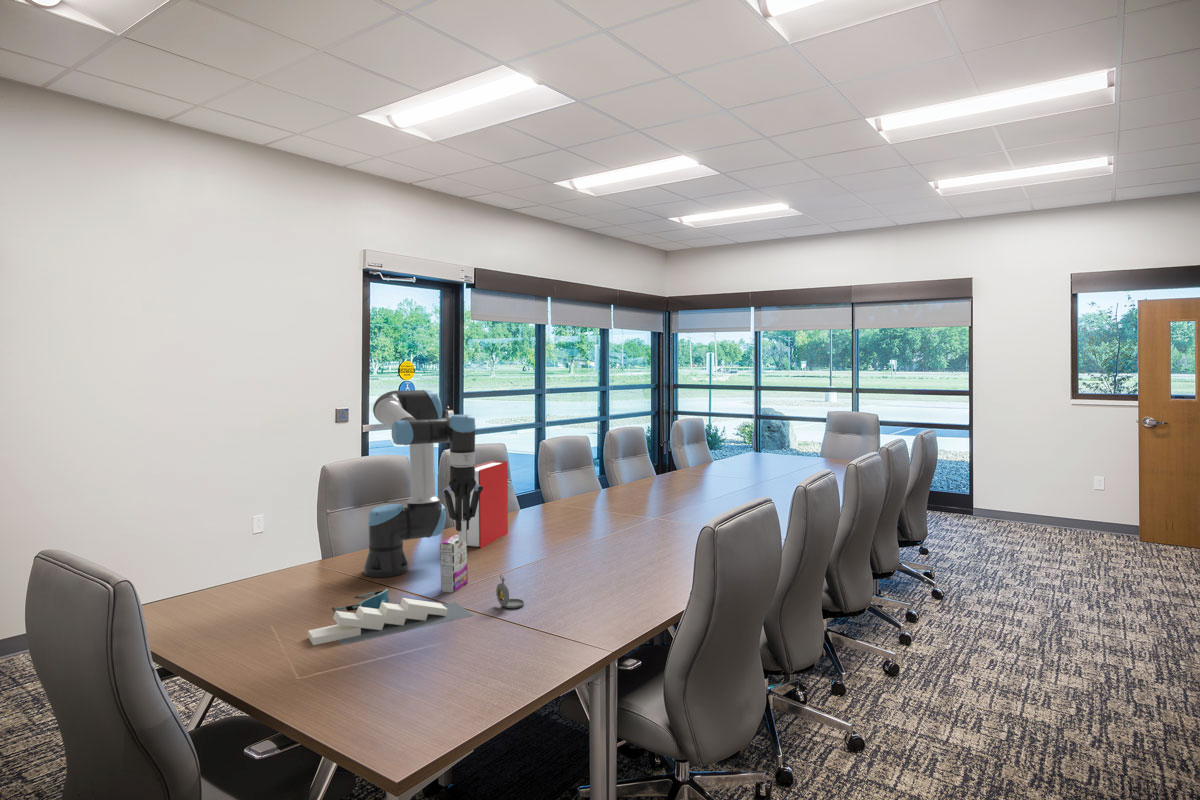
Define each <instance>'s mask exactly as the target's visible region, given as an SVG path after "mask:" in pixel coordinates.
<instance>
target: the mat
mask: <svg viewBox="0 0 1200 800" xmlns="http://www.w3.org/2000/svg"><path fill="white" fill-rule="evenodd" d="M441 604H442V603H441ZM442 605H443V606H444V607H446V608H447V609H448V610H447V614H446V616H442V615H434V614H428V615H427V618H426V621H424V620H416V619H408V618H406V619H405V623H404V626H403V625H395V624H388V623H384V626H383V629H382V630H375V629H367V628H361V635H358V636H354V637H349V638H345V639H340V640H336V641H337V642H338V643H339V644H340V646H344V645H349V644H353V643H359V642H363V641H367V640H371V639H376V638H380V637H384V636H390V635H393V634H399V633H402V632H406V631H411V630H416V629H422V628H425V627H429V626H434V625H438V624H442V623H446V622H452V621H456V620H460V619H464V618H468V617H469V618H470V617H473V616H474V614H473V613H471V612H470V611H469V610H468V609H466V608H464V607H463V606H461V605H460V604H459V603H457V602H456V601H452V602H448V603H443V604H442Z"/></svg>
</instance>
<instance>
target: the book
mask: <svg viewBox="0 0 1200 800" xmlns="http://www.w3.org/2000/svg"><path fill="white" fill-rule="evenodd" d="M474 466H475V481H476V484H478V485H480V486H482V487H483V490H482V491H481V493H480V496H479V500H478V505H477V509H476V514H475V517H472V518H471V519H470V520H469V530H466V535H467V547H468V546H469V547H479V548H480V549H482V548H484V547H486V546H488V545H490V544H492V543H493V542H495V541H497V540H499V539H501V538H502V536H503V537H504V536H506V535H508V534H509V525H508V524H509V517H508V516H509V515H508V514H509V509H508V508H509V504H508V503H509V502H508V501H509V499H508V497H509V496H508V491H509V490H508V487H509V486H508V484H509V483H508V479H509V478H508V460H490V461H486V462H483V463H479V464H478V463H477V464H474ZM473 492H474V488H473V490H472V491H471V493H470V505H471V500H472V496H473ZM462 505H463V498H462ZM462 519H464V518H463V517H462ZM507 533H508V534H507ZM505 534H506V535H505ZM500 537H501V538H500ZM498 538H499V539H498ZM496 539H497V540H496ZM494 540H495V541H494ZM491 542H492V543H491ZM489 543H490V544H489ZM487 544H488V545H487ZM485 545H486V546H485ZM483 546H484V547H483ZM481 547H482V548H481Z"/></svg>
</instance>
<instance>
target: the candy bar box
mask: <svg viewBox="0 0 1200 800" xmlns="http://www.w3.org/2000/svg"><path fill="white" fill-rule="evenodd" d="M439 549H440V551H439V552H440V554H439V555H440V584H441V585H440V587H441V589H440V590H441V592H444V593H456V592H457V591H458V590H459V589H461V588H462V587H464V586H466V585H467V584H468V578H469V576H468V546H467V535H466V542H461V541H459V540H458V534H453V535H452V536H450V537H448V538H447V539H444V540H443V541H442V542H440V543H439Z"/></svg>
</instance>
